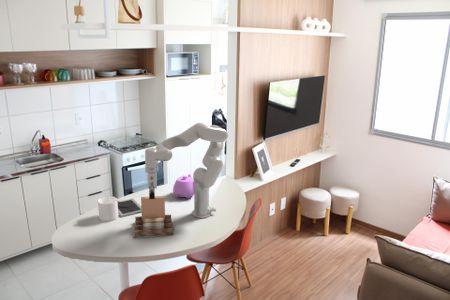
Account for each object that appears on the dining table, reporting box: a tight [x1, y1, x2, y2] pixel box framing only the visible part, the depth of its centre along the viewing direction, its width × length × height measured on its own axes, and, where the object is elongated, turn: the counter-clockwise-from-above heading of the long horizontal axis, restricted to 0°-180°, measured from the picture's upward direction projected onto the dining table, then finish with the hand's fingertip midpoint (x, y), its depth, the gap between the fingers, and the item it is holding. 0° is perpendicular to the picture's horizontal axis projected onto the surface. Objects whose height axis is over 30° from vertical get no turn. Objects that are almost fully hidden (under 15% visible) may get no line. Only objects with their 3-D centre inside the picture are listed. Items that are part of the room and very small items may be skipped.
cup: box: [97, 195, 119, 222], centre depth 248 cm, size 12×12×12 cm
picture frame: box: [117, 198, 142, 218], centre depth 262 cm, size 16×3×21 cm
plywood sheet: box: [140, 195, 166, 220], centre depth 240 cm, size 14×2×18 cm, turn 100°
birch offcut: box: [143, 218, 164, 223], centre depth 237 cm, size 12×4×6 cm, turn 101°
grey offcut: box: [143, 223, 164, 230], centre depth 231 cm, size 12×4×6 cm, turn 96°
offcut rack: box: [133, 214, 174, 238], centre depth 237 cm, size 22×18×4 cm
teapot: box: [172, 173, 194, 200], centre depth 284 cm, size 20×20×15 cm
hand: (151, 195), depth 237 cm, fingers open, 9 cm apart
